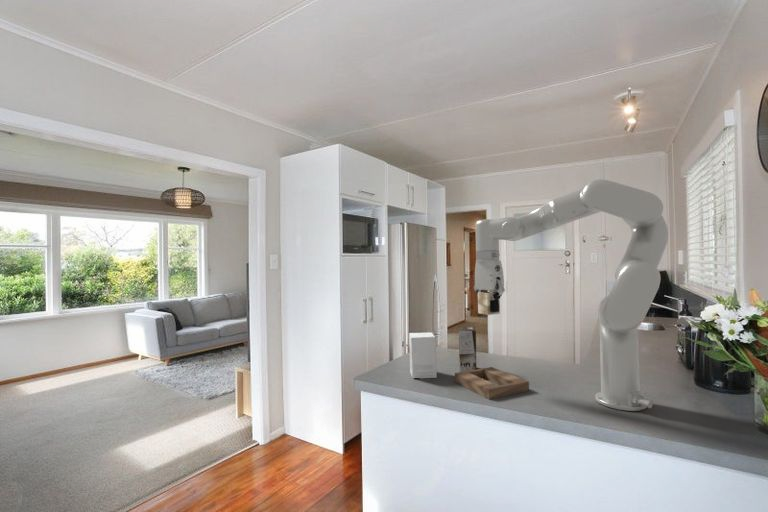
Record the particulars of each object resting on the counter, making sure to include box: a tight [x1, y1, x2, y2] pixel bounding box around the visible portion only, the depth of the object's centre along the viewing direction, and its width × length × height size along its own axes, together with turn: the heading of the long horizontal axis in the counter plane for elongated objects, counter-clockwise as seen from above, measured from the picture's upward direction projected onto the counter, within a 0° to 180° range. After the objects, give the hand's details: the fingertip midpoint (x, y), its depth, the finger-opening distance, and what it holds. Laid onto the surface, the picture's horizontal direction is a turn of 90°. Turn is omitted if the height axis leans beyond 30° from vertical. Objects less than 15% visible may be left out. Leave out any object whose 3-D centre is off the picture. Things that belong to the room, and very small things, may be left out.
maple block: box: [477, 291, 501, 316], centre depth 125 cm, size 5×5×7 cm
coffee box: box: [458, 326, 477, 372], centre depth 143 cm, size 9×6×16 cm
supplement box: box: [408, 332, 438, 380], centre depth 139 cm, size 9×9×15 cm
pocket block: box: [454, 366, 530, 400], centre depth 125 cm, size 18×16×3 cm
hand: (488, 310), depth 125 cm, fingers closed on maple block, 5 cm apart
